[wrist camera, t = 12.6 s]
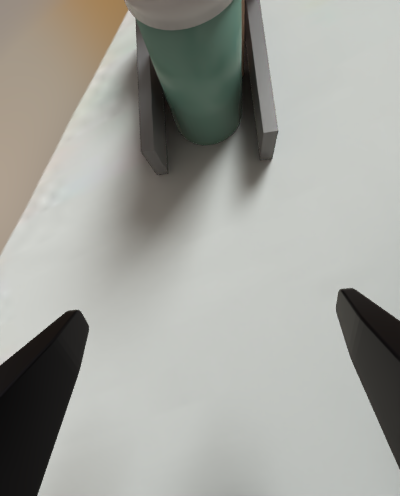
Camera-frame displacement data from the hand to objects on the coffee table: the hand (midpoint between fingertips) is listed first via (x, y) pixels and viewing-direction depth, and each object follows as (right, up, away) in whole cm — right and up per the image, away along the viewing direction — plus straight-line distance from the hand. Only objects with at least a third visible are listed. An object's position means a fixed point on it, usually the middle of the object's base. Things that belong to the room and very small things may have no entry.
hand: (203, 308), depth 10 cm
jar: (+1, +14, +15) cm, 21 cm away
